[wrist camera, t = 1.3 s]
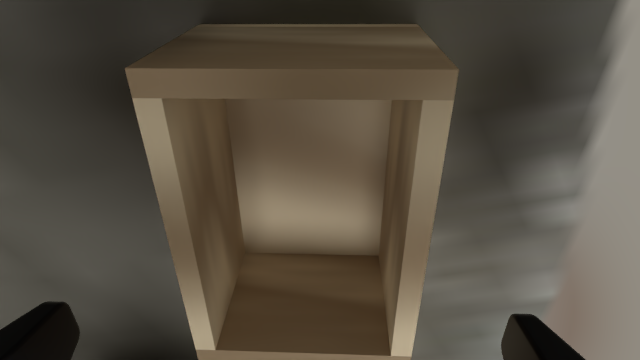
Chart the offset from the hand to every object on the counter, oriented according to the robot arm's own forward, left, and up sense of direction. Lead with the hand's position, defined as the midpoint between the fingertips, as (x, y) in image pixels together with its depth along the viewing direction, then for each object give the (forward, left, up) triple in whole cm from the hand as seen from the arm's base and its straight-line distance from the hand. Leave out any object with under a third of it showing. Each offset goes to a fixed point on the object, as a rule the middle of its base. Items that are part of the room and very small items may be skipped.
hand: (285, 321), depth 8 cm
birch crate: (0, 0, -7) cm, 7 cm away
